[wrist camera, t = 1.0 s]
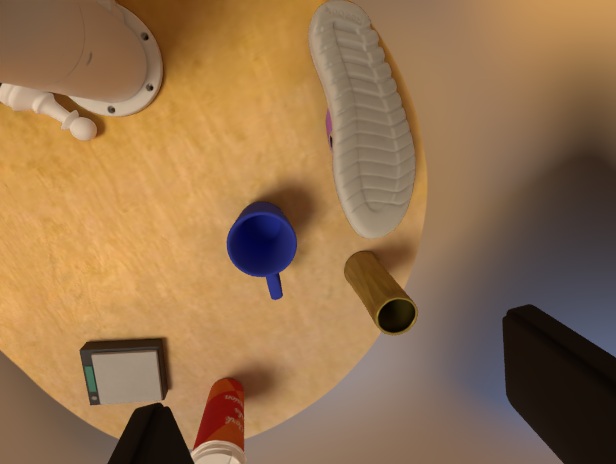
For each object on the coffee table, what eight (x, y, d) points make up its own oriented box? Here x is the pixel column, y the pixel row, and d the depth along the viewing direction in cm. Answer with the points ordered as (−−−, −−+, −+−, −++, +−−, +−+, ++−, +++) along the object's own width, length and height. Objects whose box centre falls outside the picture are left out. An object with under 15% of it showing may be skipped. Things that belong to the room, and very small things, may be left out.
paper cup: (253, 404, 57) (250, 487, 44) (209, 414, 57) (192, 500, 43) (245, 368, 55) (239, 443, 41) (198, 377, 54) (177, 457, 41)
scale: (86, 342, 50) (77, 353, 47) (162, 338, 51) (157, 348, 49) (96, 395, 53) (88, 408, 50) (168, 390, 54) (163, 403, 52)
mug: (249, 277, 50) (245, 311, 41) (227, 202, 46) (217, 220, 37) (301, 265, 51) (309, 295, 41) (283, 189, 47) (288, 204, 37)
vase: (341, 255, 51) (369, 299, 38) (379, 247, 52) (420, 288, 38) (346, 289, 53) (375, 344, 39) (382, 281, 53) (423, 332, 40)
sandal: (441, 210, 43) (407, 212, 50) (368, -16, 39) (341, 19, 45) (364, 250, 40) (338, 246, 46) (272, 5, 35) (258, 40, 42)
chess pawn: (-6, 108, 37) (77, 159, 40) (-1, 76, 34) (89, 134, 38) (25, 90, 40) (99, 138, 44) (33, 58, 37) (112, 113, 41)
